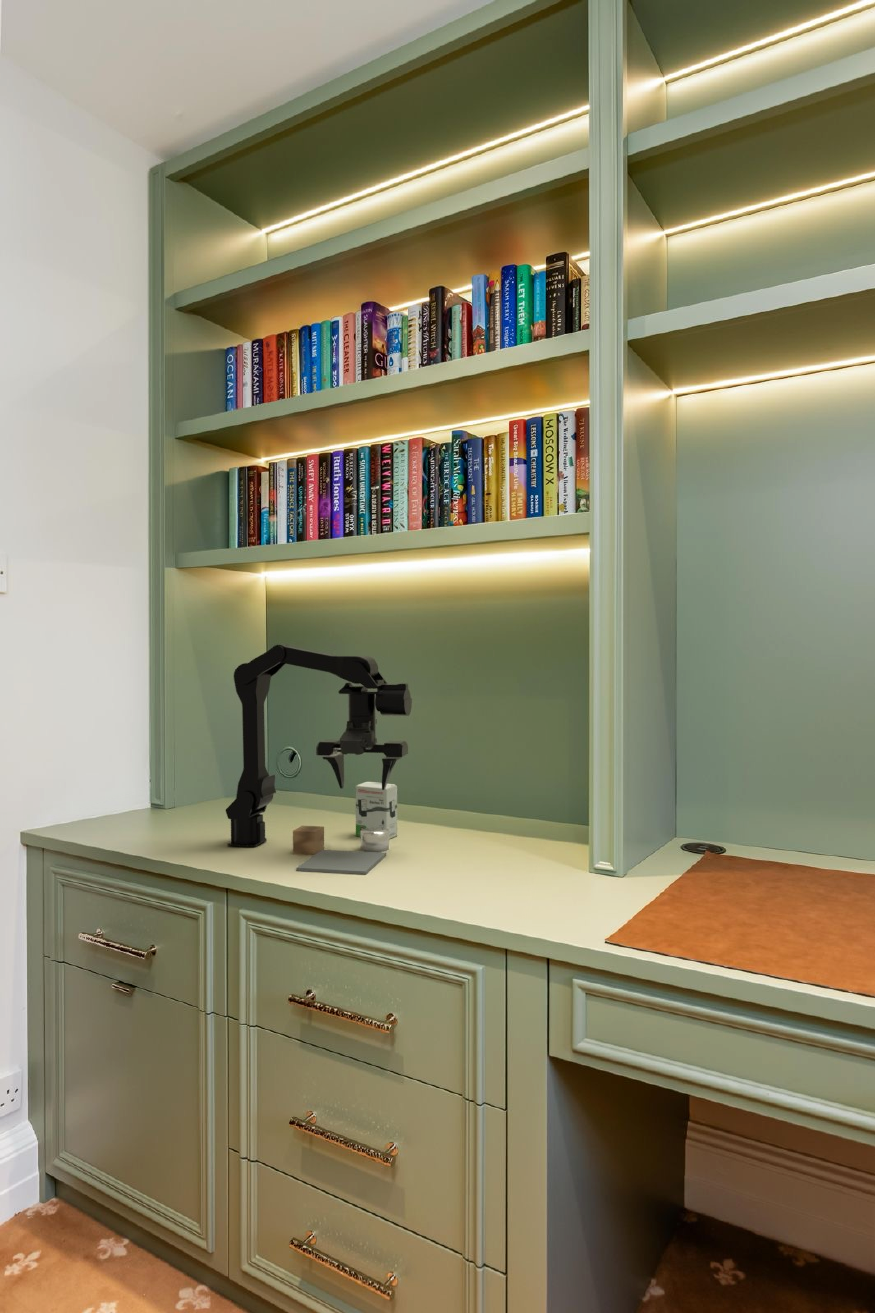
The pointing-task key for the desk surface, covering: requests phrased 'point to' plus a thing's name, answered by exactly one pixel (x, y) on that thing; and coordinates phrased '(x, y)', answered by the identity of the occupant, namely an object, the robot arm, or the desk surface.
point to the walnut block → (308, 840)
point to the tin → (374, 839)
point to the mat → (342, 862)
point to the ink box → (376, 807)
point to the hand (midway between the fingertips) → (362, 788)
